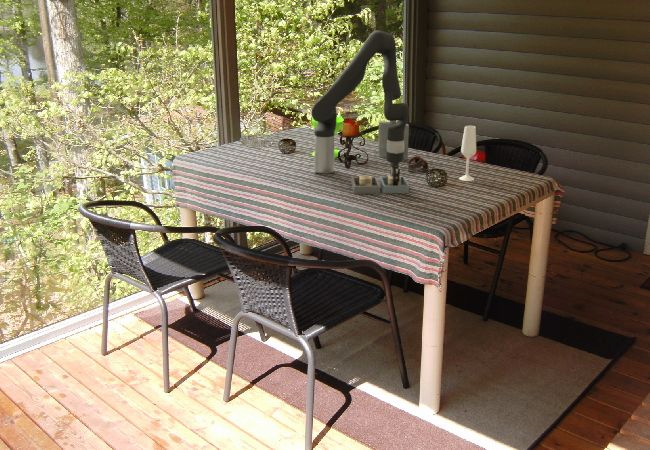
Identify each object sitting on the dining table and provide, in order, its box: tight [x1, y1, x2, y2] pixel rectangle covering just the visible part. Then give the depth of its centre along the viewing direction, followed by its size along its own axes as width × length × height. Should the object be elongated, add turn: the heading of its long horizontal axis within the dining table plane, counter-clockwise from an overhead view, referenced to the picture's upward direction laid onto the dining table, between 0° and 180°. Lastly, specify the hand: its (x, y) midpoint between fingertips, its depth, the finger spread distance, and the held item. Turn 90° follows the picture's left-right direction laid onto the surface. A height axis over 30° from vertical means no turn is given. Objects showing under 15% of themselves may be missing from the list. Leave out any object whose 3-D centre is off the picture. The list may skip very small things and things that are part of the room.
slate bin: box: [379, 176, 410, 194], centre depth 317 cm, size 11×14×4 cm
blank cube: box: [358, 175, 372, 186], centre depth 316 cm, size 5×5×5 cm
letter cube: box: [387, 174, 402, 186], centre depth 317 cm, size 5×5×5 cm
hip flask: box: [377, 120, 410, 161], centre depth 364 cm, size 16×4×20 cm, turn 60°
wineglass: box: [311, 116, 345, 159], centre depth 370 cm, size 16×16×18 cm
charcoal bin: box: [351, 176, 381, 195], centre depth 317 cm, size 11×14×4 cm
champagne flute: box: [458, 125, 477, 182], centre depth 328 cm, size 7×7×24 cm
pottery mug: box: [407, 155, 430, 172], centre depth 345 cm, size 12×10×8 cm
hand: (394, 187), depth 318 cm, fingers open, 6 cm apart
